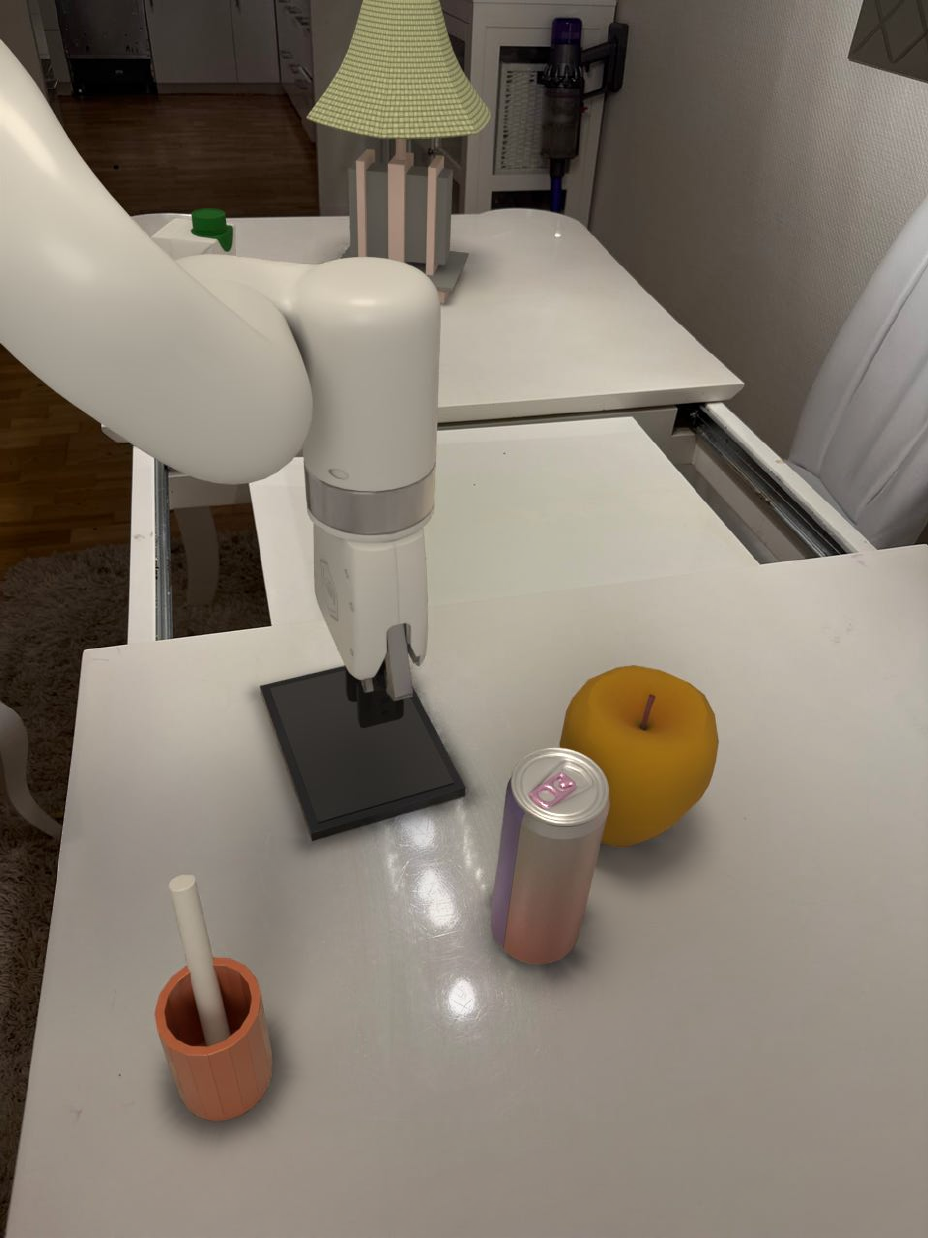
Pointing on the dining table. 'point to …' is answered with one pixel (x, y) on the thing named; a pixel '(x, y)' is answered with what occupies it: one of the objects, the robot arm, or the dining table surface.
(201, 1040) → the pen cup
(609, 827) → the apple
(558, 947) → the beverage can
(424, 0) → the desk lamp
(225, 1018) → the stylus
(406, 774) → the tablet
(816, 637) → the dining table surface
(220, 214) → the milk carton
